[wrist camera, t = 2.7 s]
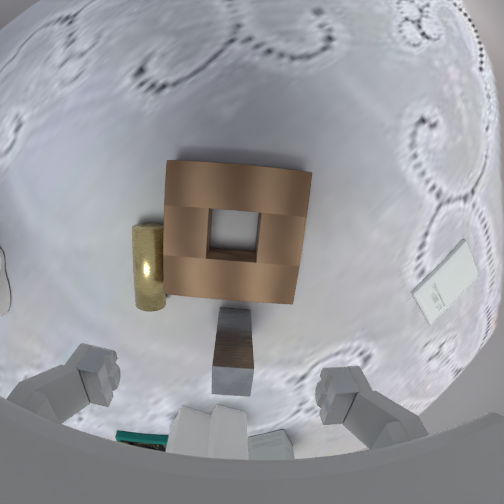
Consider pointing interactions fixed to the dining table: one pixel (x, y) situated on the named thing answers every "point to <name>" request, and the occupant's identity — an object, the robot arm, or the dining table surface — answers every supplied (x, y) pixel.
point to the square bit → (233, 353)
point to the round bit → (148, 266)
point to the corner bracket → (209, 433)
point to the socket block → (233, 261)
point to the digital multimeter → (143, 440)
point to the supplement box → (270, 446)
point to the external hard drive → (446, 282)
